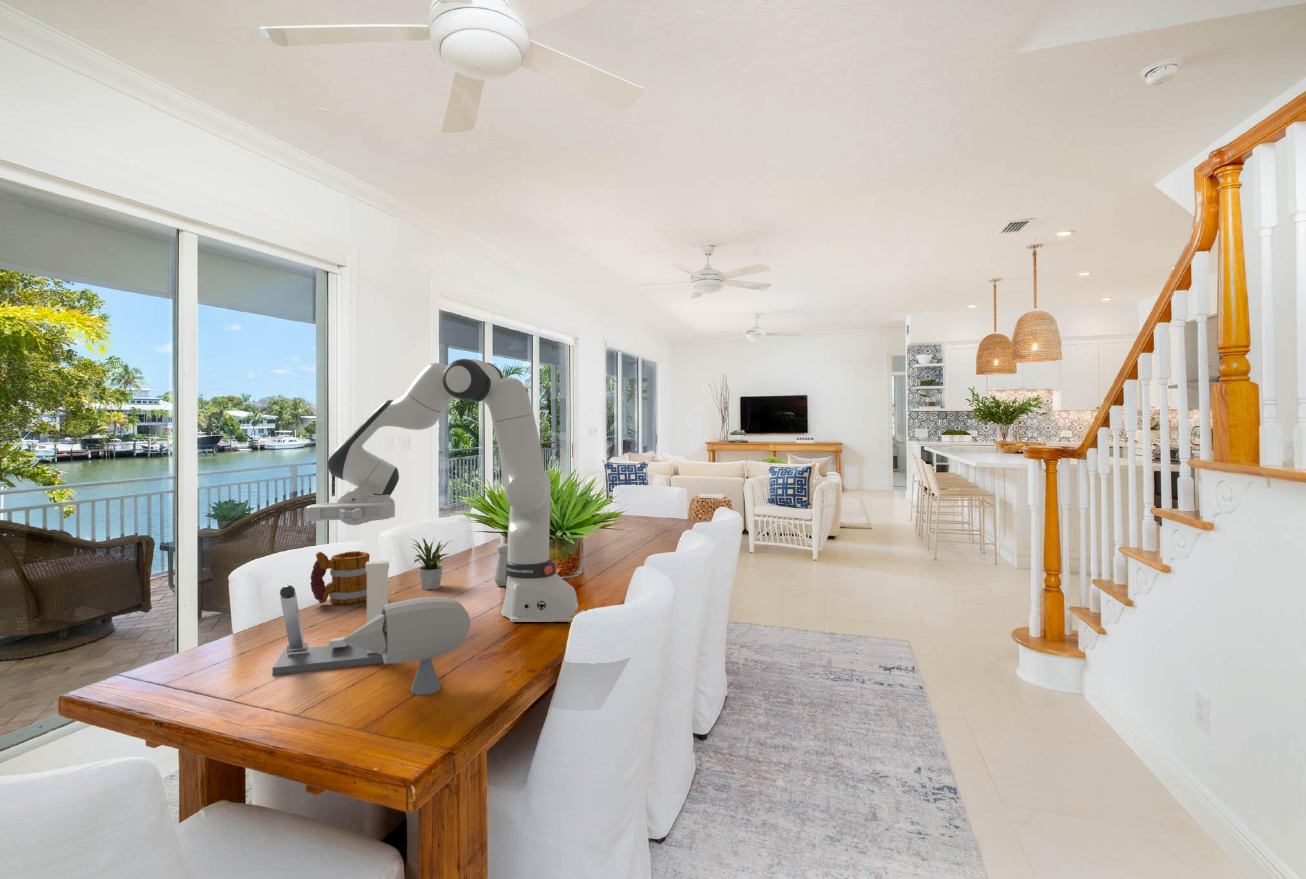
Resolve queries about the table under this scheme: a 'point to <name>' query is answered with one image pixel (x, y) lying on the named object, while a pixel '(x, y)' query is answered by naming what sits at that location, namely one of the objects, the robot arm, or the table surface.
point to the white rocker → (337, 642)
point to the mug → (341, 577)
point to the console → (325, 659)
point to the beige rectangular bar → (376, 588)
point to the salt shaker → (501, 565)
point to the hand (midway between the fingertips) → (348, 514)
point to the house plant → (430, 565)
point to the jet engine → (415, 635)
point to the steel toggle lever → (292, 620)
